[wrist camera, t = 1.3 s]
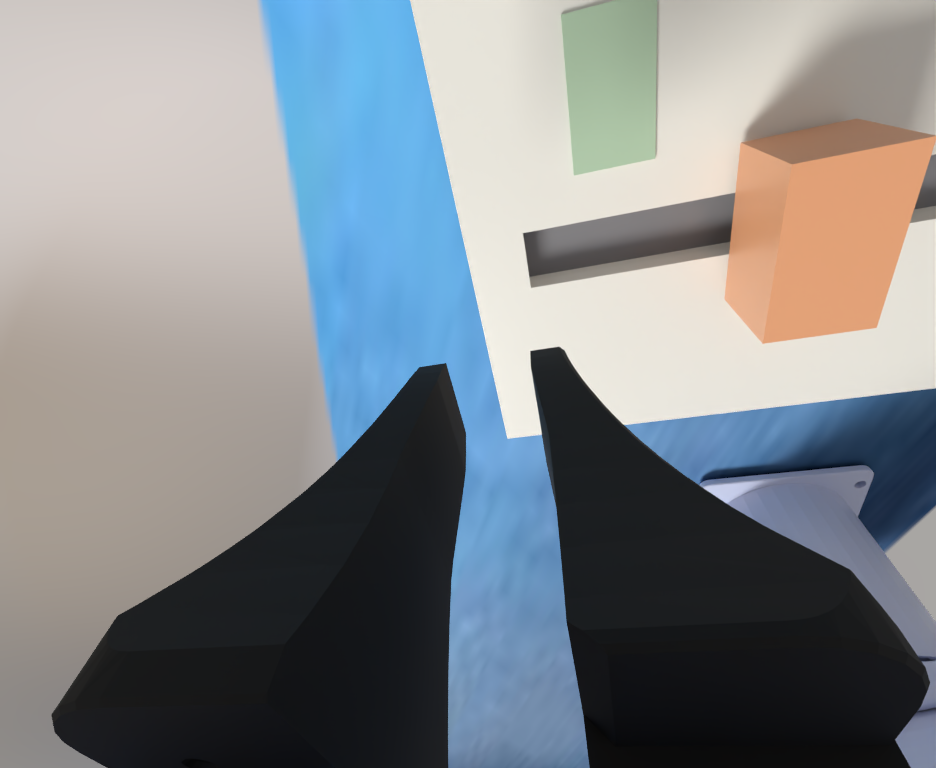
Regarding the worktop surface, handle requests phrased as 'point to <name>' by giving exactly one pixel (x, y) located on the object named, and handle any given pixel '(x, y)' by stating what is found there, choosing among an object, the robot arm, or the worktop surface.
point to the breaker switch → (821, 226)
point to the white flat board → (665, 188)
